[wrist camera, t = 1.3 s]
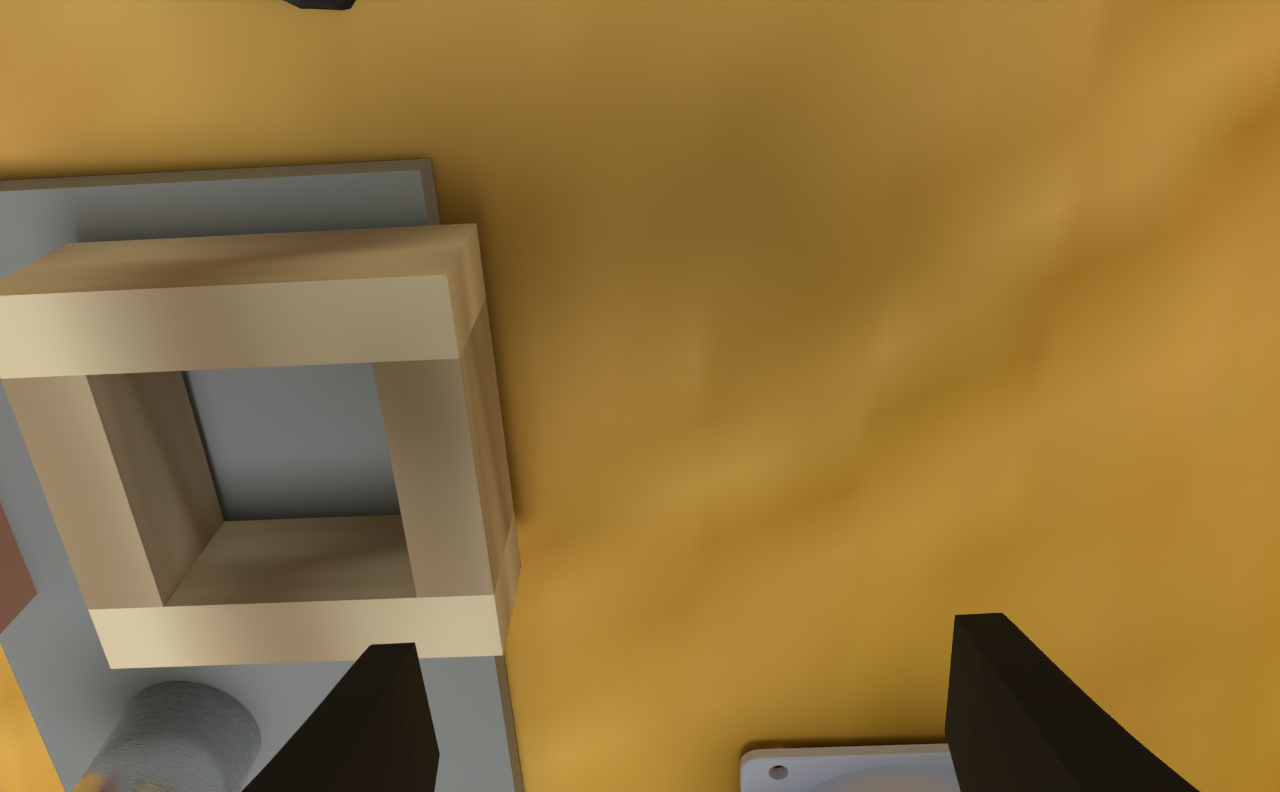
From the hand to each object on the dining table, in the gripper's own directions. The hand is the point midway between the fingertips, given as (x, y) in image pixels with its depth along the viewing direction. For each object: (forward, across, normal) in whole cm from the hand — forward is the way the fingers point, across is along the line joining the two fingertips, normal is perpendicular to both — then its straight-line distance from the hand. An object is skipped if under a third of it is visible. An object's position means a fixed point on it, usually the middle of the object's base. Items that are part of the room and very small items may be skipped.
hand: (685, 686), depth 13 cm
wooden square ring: (+8, +8, 0) cm, 11 cm away
